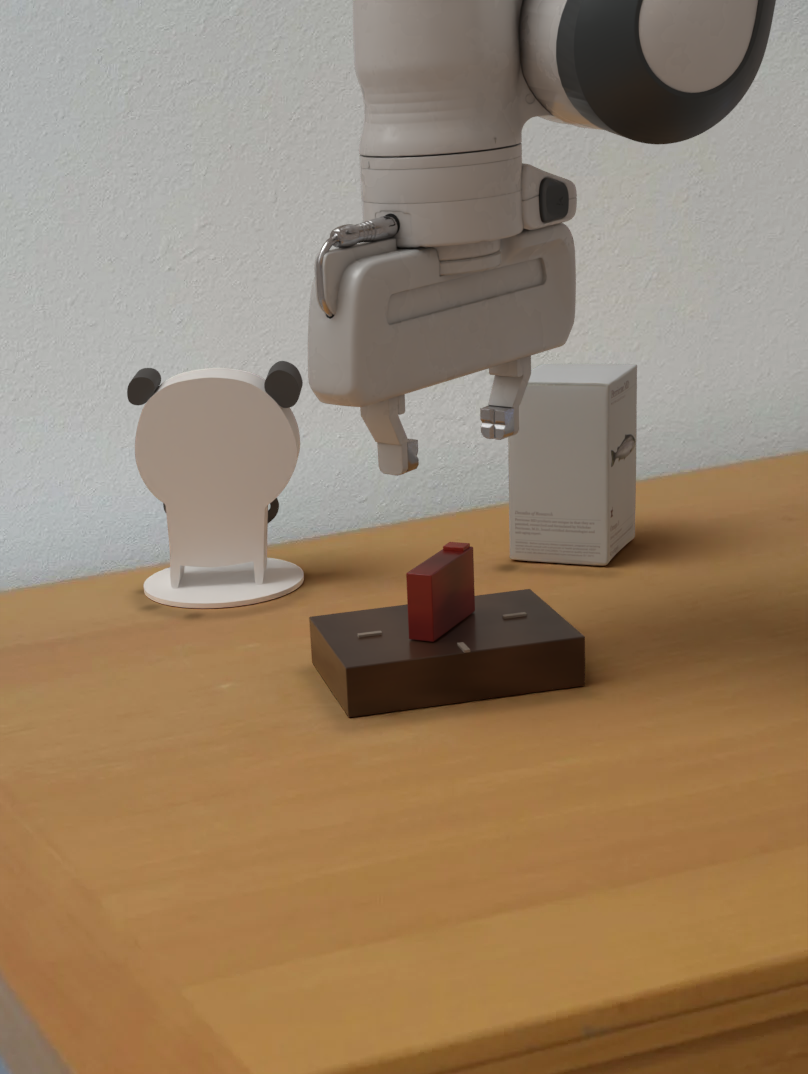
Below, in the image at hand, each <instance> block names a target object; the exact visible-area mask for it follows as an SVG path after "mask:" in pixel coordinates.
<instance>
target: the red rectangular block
mask: <svg viewBox="0 0 808 1074" xmlns="http://www.w3.org/2000/svg"><path fill="white" fill-rule="evenodd" d="M474 562H475V561H474V547H473V546H471V543H469V542H458V541H448V542H447V543H445V544H444V545H442V549H440V550H438V552H436V553H435V554H433V555H431V556H430V557H428V558H427V559H426V560H424V561H423V562H420V563H419V564H418V565H416V566H415V567H413V568H412V569H410V570H409V571H407V572H406V574H405V576H406V578H405V579H406V599H407V601H406V602H407V604H408V627H409V639H411V640H421V641H430V642H434V641H435V640H437V639H438V638H439V637H441V636H442V635H443V634H445V633H446V632H447V631H449V630H450V629H451V628H453V627H454V626H455V625H457V624H458V623H459V622H461V621H462V620H464V619H465V618H466V617H468V616H469V615H470V614H472V613H473V612H474V611H475V596H476V594H475V565H474V564H475V563H474Z"/></svg>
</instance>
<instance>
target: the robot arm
mask: <svg viewBox="0 0 808 1074" xmlns="http://www.w3.org/2000/svg"><path fill="white" fill-rule="evenodd" d="M776 2H777V0H352V40H353V41H352V42H353V43H352V45H353V64H354V65H353V66H354V72H355V76H356V79H357V82H358V85H359V89H360V92H361V96H362V102H363V122H362V129H361V133H360V136H359V143H358V159H359V160H358V162H359V179H360V180H359V181H360V196H361V199H360V200H361V212H362V213H361V216H362V222H360V223H356V224H353V223H348V224H347V223H346V224H342V225H339V226H337V227H335V228H334V229H332V230H331V231H330V233H329V238H328V239H326V240H325V242H324V243H323V244H322V246H321V248H320V250H319V252H318V253H316V255H315V259H314V267H313V269H314V270H313V272H314V277H313V280H312V284H311V289H310V296H309V305H308V307H309V308H308V321H307V322H308V324H307V378H308V379H307V380H308V384H309V388H310V389H311V391H312V392H313V394H314V395H315V397H316V398H317V400H318V401H319V402H320V403H322V404H325V405H333V406H341V407H351V408H352V407H353V408H359V409H360V410H359V411H360V412H359V413H360V417H361V419H362V420H363V422H364V424H365V426H366V428H367V429H368V431H369V433H370V435H371V436H372V438H373V440H374V442H375V443H376V444H377V445H376V446H377V461H378V462H377V463H378V464H377V465H378V468H379V471H380V472H381V473H382V474H383V475H390V476H397V477H398V476H401V475H402V476H403V475H404V474H407V473H409V472H412V471H414V470H417V469H418V467H419V464H420V459H419V458H418V454H419V440H418V439H414V438H408V436H407V433H406V431H405V429H404V426H403V424H402V421H401V419H400V416H401V415H404V414H405V412H406V395H407V394H410V393H413V392H417V391H419V390H423V389H426V388H429V387H433V386H436V385H441V384H443V383H445V382H449V381H453V380H456V379H460V378H462V377H465V376H468V375H472V374H475V373H479V372H482V371H486V370H488V374H489V375H490V376H494V377H493V381H492V386H491V390H490V395H489V398H488V403H487V405H485V406H483V407H480V408H479V416H480V417H479V418H480V422H481V425H480V433H481V435H482V437H483V438H484V439H489V440H498V441H501V440H505V439H508V437H510V436H513V435H515V434H517V433H518V431H519V405H520V404H521V401H522V398H523V395H524V393H525V390H526V387H527V384H528V381H529V379H530V376H531V370H532V356H535V355H537V354H541V353H544V352H548V351H551V350H553V349H558V348H560V347H563V346H564V345H566V343H567V341H568V339H569V337H570V335H571V332H572V329H573V327H574V324H575V317H576V303H577V300H576V298H577V282H576V281H577V269H576V268H577V267H576V265H577V264H576V249H575V240H574V236H573V234H572V231H571V229H570V228H569V226H567V224H565V223H566V222H569V221H571V220H572V219H574V218H575V216H576V213H577V206H578V205H577V202H578V198H577V197H578V194H577V193H578V191H577V187H576V184H575V183H574V182H573V181H572V180H570V179H567V178H565V177H562V176H560V175H556V174H554V173H550V172H548V171H545V170H544V169H541V168H539V167H537V166H534V165H532V164H529V163H524V162H523V156H522V155H523V150H522V149H523V144H522V142H523V141H522V140H523V139H522V138H523V137H522V135H523V133H522V131H523V128H524V126H525V124H526V123H527V122H528V121H529V120H530V119H533V118H536V117H538V118H541V119H543V120H546V121H549V122H553V123H557V124H563V125H568V126H574V127H577V128H581V129H591V130H598V131H606V132H609V133H611V134H613V135H616V136H620V137H623V138H625V139H628V140H630V141H634V142H637V143H641V144H648V145H670V144H676V143H680V142H684V141H687V140H691V139H692V138H693V139H694V138H695V137H697V136H700V135H701V134H703V133H706V132H707V131H709V130H710V129H712V128H713V127H715V126H717V124H719V123H720V122H721V121H722V120H724V119H725V118H726V117H727V116H728V115H729V114H730V113H731V112H732V111H733V110H734V109H735V108H736V107H737V106H738V105H739V103H740V102H741V101H742V100H743V98H744V97H745V96H746V94H747V92H748V91H749V90H750V88H751V86H752V84H753V83H754V81H755V79H756V76H757V75H758V72H759V71H760V68H761V65H762V63H763V59H764V57H765V54H766V50H767V46H768V43H769V39H770V34H771V29H772V24H773V19H774V14H775V13H774V12H775V8H776ZM332 247H334V248H333V249H331V248H332Z"/></svg>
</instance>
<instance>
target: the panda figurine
mask: <svg viewBox="0 0 808 1074" xmlns="http://www.w3.org/2000/svg"><path fill="white" fill-rule="evenodd" d="M303 383H304V382H303V378H302V375H301V372H300V370H299V369H298V367H296V365H294V364H293V363H291V362H290V361H287V360H279V361H276V362H275V363H274V364H273V365H272V366H271V367H270V368H269V369H268V372H267V374H266V378H263V377H262V376H260V375H258V374H256V373H255V372H252V371H248V370H244V369H240V368H239V369H238V368H232V367H205V368H197V369H191V370H187V371H183V372H179V373H177V374H174V375H173V376H170V377H168V378H167V379H165V381H163V382H162V376H161V373H160V372H159V370H157V369H156V368H153V367H143V368H141V369H139V370H138V371H137V372H136V373H135V374H134V376H133V377H132V379H131V380H130V381H129V383H128V384H127V388H126V397H127V400H128V402H129V403H130V404H131V405H133V406H143V405H144V406H143V407H142V409H141V412H140V415H139V419H138V422H137V427H136V430H135V431H136V432H135V439H134V458H135V463H136V467H137V470H138V473H139V476H140V478H141V480H142V481H143V483H144V485H145V487H146V489H148V491H149V492H150V493H151V495H153V496H154V498H156V499H158V501H160V502H161V503H162V506H163V511H164V513H165V515H166V525H167V535H168V547H169V548H168V550H169V567H165V568H163V569H161V570H158V571H156V572H154V573H153V574H152V575H150V576H149V577H147V578H146V579H145V580H144V582H143V593H144V595H145V596H146V597H147V598H148V599H149V600H151V601H154V602H155V603H158V604H162V605H165V606H171V607H176V608H184V609H185V608H187V609H222V608H234V607H241V606H248V605H253V604H259V603H264V602H267V601H271V600H274V599H278V598H280V597H283V596H286V595H288V594H290V593H292V592H294V591H295V590H297V589H298V588H300V587H301V586H302V585H303V584H304V580H305V573H304V572H305V571H304V570H303V569H302V568H301V566H299V565H298V564H296V563H293V562H291V561H288V560H285V559H280V558H274V557H268V529H269V528H268V526H269V524H270V523H271V522H272V521H273V520H274V519H275V518H276V517H277V515H278V513H279V509H280V502H279V499H278V497H279V496H280V495H281V493H282V492H283V491H284V490H285V488H286V487H287V485H288V484H289V483H290V481H291V478H292V477H293V474H294V472H295V470H296V467H297V463H298V459H299V456H300V450H301V434H300V429H299V425H298V422H297V419H296V416H295V414H294V413H293V410H292V409H291V408H292V407H294V406H295V405H296V404H297V403H298V402H299V399H300V395H301V393H302V390H303V389H302V388H303Z"/></svg>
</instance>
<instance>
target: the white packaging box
mask: <svg viewBox="0 0 808 1074" xmlns="http://www.w3.org/2000/svg"><path fill="white" fill-rule="evenodd" d="M637 400H638V365H637V364H635V363H541V364H538V365H537V366H535V367H534V368H531V376H530V379H529V381H528V384H527V387H526V390H525V393H524V395H523V398H522V401H521V404H520V405H519V431H518V433H517V434H515V435H513V436H510V437H508V438H507V457H508V458H507V459H508V460H507V461H508V463H507V465H508V466H507V467H508V529H509V530H508V534H509V535H508V536H509V559H510V560H515V561H527V562H538V563H539V562H541V563H555V564H571V565H585V566H586V565H587V566H603V567H605V566H607V565H608V564H609V563H610V561H612V559H613V558H614V557H615V556H616V555H617V554H618V553H619V552H620V551H621V550H622V549H623V548H624V547H625V546H626V545H627V544H629V543H630V542H631V541H632V540H634V539H635V538H636V507H637V506H636V502H637V501H636V500H637V492H636V491H637V441H638V440H637V439H638V438H637V437H638V436H637V434H638V433H637V430H638V429H637V428H638V427H637V423H638V421H637V419H638V417H637V412H638V411H637V410H638V409H637V408H638V407H637V406H638V405H637V403H638V401H637Z"/></svg>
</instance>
